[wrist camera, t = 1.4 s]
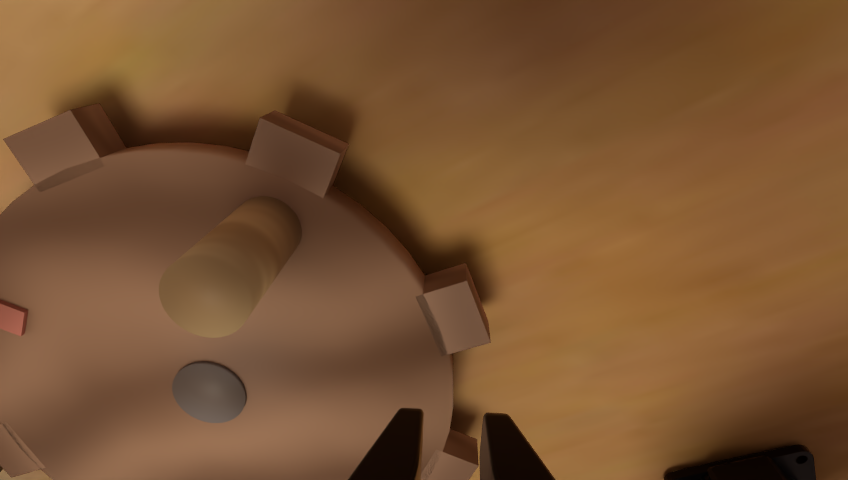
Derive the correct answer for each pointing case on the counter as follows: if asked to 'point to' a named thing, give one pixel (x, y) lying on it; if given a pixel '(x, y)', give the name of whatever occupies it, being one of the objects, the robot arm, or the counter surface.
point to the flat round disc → (214, 313)
